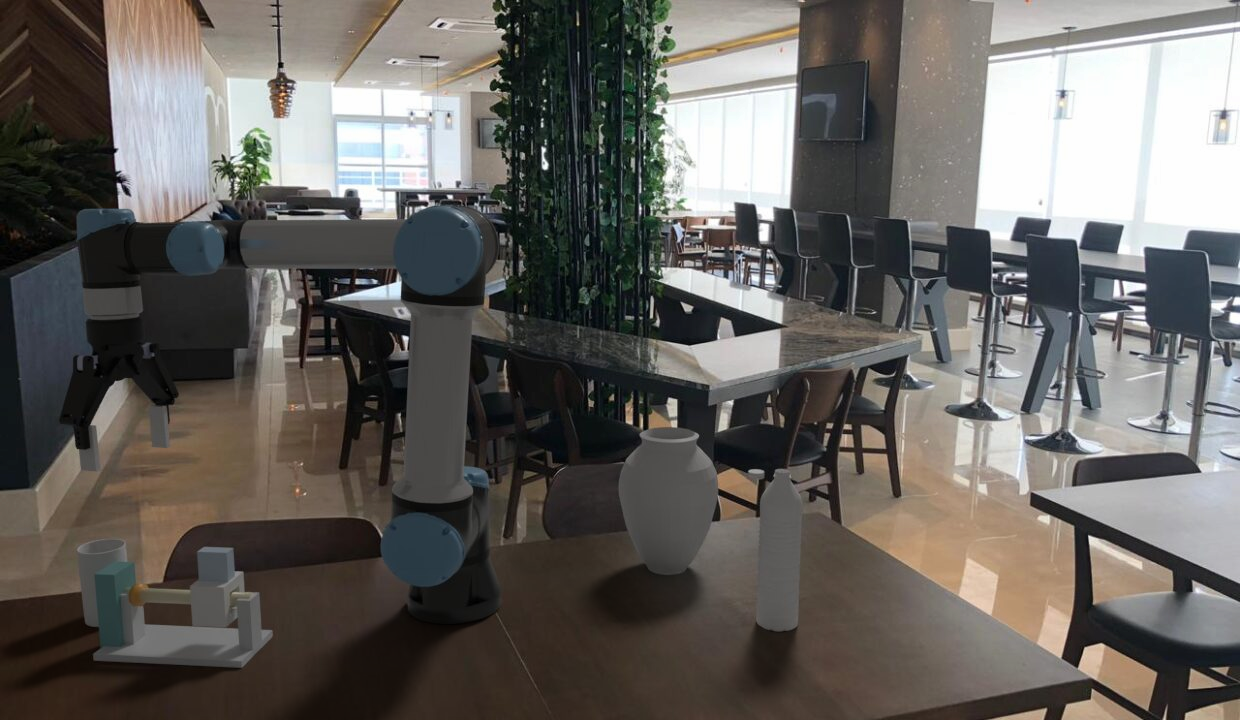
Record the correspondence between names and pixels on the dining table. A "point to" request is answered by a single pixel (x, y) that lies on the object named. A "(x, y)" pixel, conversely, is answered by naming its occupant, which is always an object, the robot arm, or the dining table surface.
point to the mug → (96, 570)
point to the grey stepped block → (215, 588)
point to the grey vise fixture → (169, 644)
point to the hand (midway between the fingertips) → (127, 458)
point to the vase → (668, 498)
